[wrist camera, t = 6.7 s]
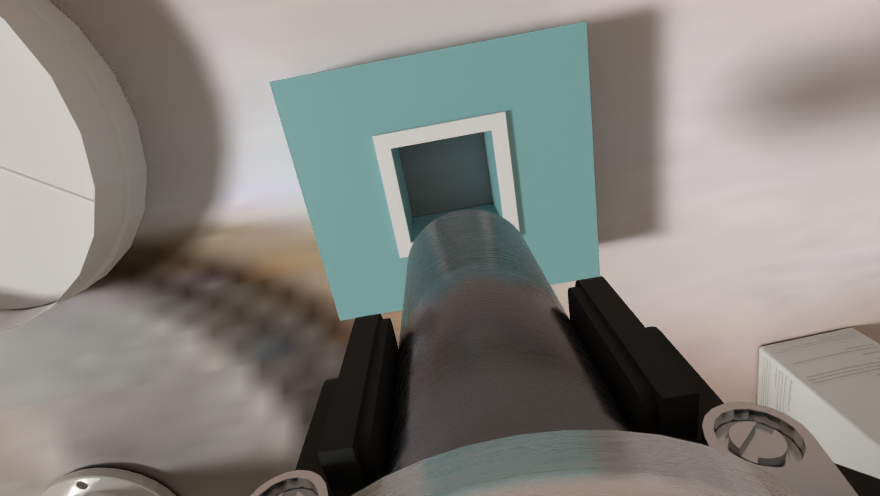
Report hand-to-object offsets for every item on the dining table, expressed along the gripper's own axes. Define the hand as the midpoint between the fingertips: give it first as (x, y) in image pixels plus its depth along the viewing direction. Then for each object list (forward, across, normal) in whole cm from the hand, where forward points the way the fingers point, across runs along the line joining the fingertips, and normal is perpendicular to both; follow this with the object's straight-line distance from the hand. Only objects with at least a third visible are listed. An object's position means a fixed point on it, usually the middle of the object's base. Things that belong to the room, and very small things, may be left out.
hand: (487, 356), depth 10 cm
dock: (+20, 0, 0) cm, 20 cm away
